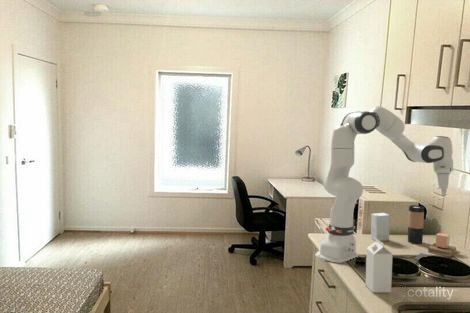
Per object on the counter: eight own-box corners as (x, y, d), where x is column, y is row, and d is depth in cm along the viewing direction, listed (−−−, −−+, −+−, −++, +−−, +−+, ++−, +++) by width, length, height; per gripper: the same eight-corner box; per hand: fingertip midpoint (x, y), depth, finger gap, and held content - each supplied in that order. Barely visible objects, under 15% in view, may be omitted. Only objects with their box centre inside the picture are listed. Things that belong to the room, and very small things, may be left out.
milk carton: (382, 284, 144) (384, 238, 143) (391, 292, 137) (393, 243, 136) (365, 285, 144) (366, 238, 142) (372, 293, 137) (374, 243, 135)
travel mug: (425, 244, 196) (427, 208, 195) (411, 244, 196) (412, 208, 195) (418, 240, 204) (420, 205, 202) (404, 240, 204) (406, 205, 203)
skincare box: (383, 237, 208) (384, 212, 207) (389, 241, 202) (390, 214, 201) (370, 238, 206) (370, 213, 205) (376, 241, 201) (376, 215, 200)
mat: (437, 264, 166) (437, 263, 166) (413, 259, 173) (413, 258, 173) (443, 258, 174) (443, 257, 174) (420, 253, 181) (420, 253, 181)
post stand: (450, 256, 177) (451, 240, 177) (428, 252, 184) (428, 236, 183) (456, 250, 186) (456, 235, 185) (434, 246, 193) (435, 231, 192)
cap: (446, 248, 181) (447, 236, 181) (435, 246, 185) (436, 234, 184) (449, 246, 185) (449, 234, 184) (438, 244, 188) (438, 232, 188)
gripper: (436, 164, 195) (438, 189, 196) (435, 170, 178) (436, 198, 179) (450, 164, 192) (451, 189, 193) (450, 170, 175) (451, 198, 176)
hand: (444, 193), depth 186 cm, fingers open, 8 cm apart
